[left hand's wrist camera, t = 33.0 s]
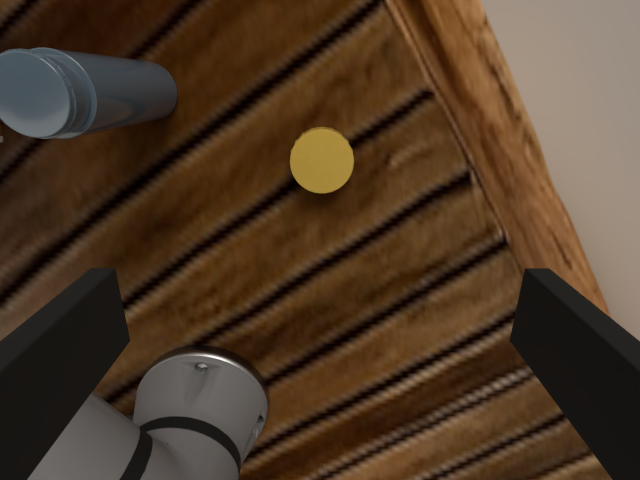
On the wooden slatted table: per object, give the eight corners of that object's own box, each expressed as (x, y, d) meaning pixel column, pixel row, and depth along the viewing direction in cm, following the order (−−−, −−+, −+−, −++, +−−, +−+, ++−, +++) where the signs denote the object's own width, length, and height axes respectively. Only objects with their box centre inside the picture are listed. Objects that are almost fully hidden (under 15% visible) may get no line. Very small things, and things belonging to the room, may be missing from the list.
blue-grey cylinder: (184, 77, 35) (85, 72, 20) (168, 128, 36) (65, 159, 22) (130, 50, 34) (-14, 25, 19) (116, 104, 35) (-28, 119, 21)
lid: (357, 131, 36) (359, 134, 34) (346, 191, 38) (348, 198, 36) (295, 121, 36) (293, 124, 34) (287, 183, 38) (285, 189, 36)
